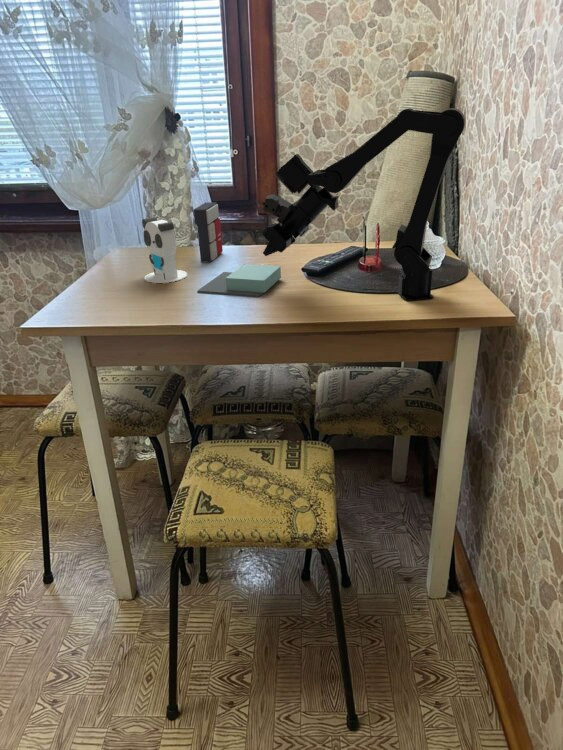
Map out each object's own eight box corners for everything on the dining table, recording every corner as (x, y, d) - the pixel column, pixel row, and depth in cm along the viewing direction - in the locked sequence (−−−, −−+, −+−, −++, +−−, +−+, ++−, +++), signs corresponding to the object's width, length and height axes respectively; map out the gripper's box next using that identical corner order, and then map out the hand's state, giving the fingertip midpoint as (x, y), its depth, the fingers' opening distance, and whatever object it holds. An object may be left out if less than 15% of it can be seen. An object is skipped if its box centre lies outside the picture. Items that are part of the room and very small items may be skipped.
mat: (280, 277, 148) (279, 275, 148) (258, 297, 135) (258, 294, 134) (223, 273, 153) (223, 271, 153) (197, 292, 139) (197, 290, 139)
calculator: (213, 262, 163) (207, 209, 156) (198, 262, 164) (193, 209, 157) (224, 252, 173) (219, 202, 166) (210, 252, 174) (205, 202, 167)
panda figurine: (136, 276, 154) (127, 220, 147) (174, 267, 160) (167, 213, 153) (156, 286, 145) (147, 227, 139) (194, 277, 151) (188, 220, 145)
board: (280, 266, 145) (244, 264, 148) (264, 280, 134) (225, 277, 138) (280, 277, 146) (244, 275, 149) (264, 292, 136) (226, 289, 139)
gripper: (295, 176, 137) (255, 221, 145) (268, 189, 121) (225, 239, 129) (326, 210, 138) (285, 253, 146) (304, 227, 122) (260, 274, 131)
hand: (264, 254), depth 138 cm, fingers closed
